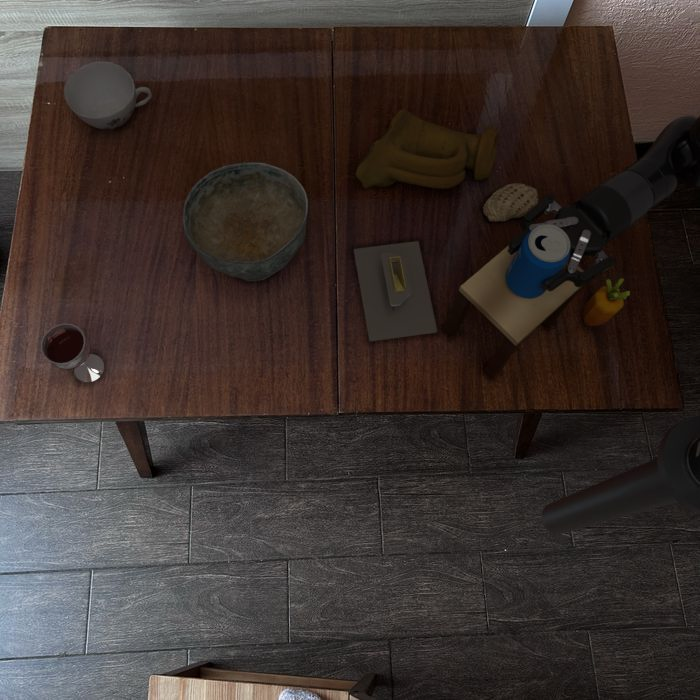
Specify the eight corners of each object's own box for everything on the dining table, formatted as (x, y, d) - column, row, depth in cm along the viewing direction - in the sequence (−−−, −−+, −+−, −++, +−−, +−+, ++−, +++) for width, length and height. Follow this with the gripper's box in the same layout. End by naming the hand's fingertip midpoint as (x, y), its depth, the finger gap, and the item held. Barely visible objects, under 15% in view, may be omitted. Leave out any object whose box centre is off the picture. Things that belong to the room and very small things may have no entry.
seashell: (508, 240, 130) (546, 199, 128) (506, 235, 124) (546, 191, 123) (477, 214, 132) (514, 173, 130) (474, 207, 126) (512, 164, 124)
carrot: (567, 315, 122) (598, 278, 108) (592, 306, 123) (627, 268, 109) (580, 340, 121) (613, 306, 106) (605, 331, 121) (642, 296, 107)
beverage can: (506, 258, 105) (527, 218, 94) (549, 265, 105) (575, 225, 94) (502, 296, 103) (523, 260, 92) (545, 304, 103) (571, 268, 92)
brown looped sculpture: (388, 81, 129) (505, 101, 124) (387, 141, 139) (495, 162, 134) (354, 135, 118) (481, 159, 113) (355, 196, 128) (472, 221, 123)
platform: (418, 240, 126) (422, 222, 120) (437, 332, 120) (443, 317, 114) (353, 249, 125) (354, 231, 119) (369, 341, 120) (371, 327, 113)
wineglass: (110, 348, 118) (87, 322, 107) (108, 386, 116) (83, 364, 104) (70, 349, 118) (42, 323, 106) (66, 388, 115) (38, 365, 104)
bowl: (323, 223, 127) (322, 176, 113) (288, 316, 121) (282, 278, 107) (222, 193, 129) (209, 143, 114) (182, 283, 122) (163, 242, 108)
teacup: (79, 148, 131) (64, 120, 124) (77, 94, 135) (62, 64, 128) (160, 138, 132) (149, 110, 125) (155, 85, 136) (145, 55, 129)
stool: (554, 321, 122) (590, 277, 105) (491, 379, 118) (518, 342, 101) (505, 274, 125) (532, 224, 108) (442, 329, 121) (460, 286, 104)
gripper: (587, 158, 99) (499, 218, 95) (658, 230, 95) (570, 296, 92) (570, 187, 106) (487, 244, 102) (636, 255, 102) (553, 317, 99)
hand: (527, 268), depth 97 cm, fingers closed on beverage can, 6 cm apart
